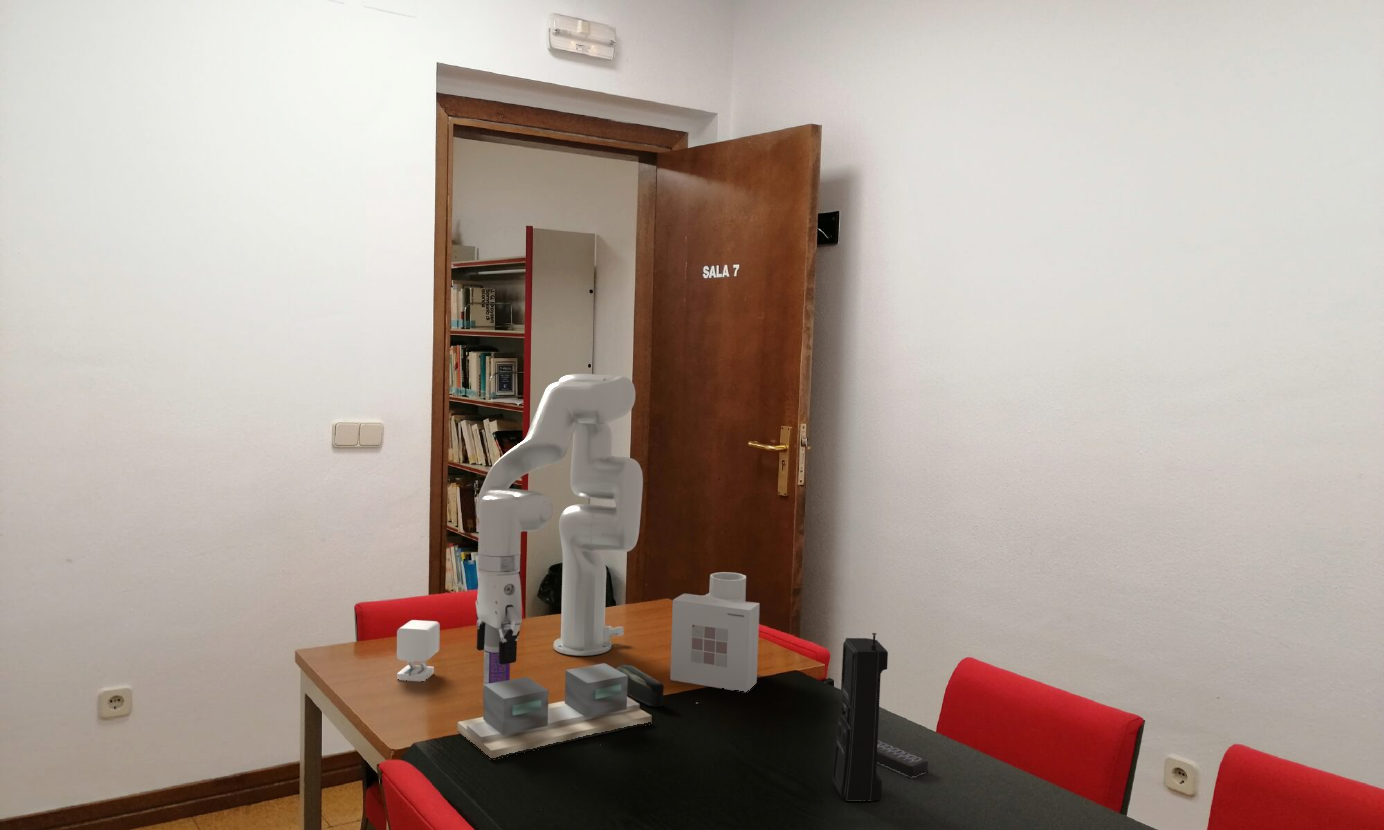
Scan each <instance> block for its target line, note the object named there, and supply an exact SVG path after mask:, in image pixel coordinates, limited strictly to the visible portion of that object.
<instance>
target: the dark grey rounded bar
mask: <svg viewBox="0 0 1384 830" xmlns="http://www.w3.org/2000/svg"><path fill="white" fill-rule="evenodd" d="M615 669H616V670H618V671H620V672H622V673H624V674H626V675H627V676H628V682H627V696H629V697H632V698H633V699H635V700H636V701H638V702H639V703H641V702H642V704H643V703H644V704H643V705H645V704H646V705H648V706H647V707H649V706H653V707H652V708H659V707H658V706H660V707H662V706H663V705H664V689H665V686H664V683H663V682H661V681H659V680H657V679H656V678H653V677H652V676H650V675H648V674H647V673H644V672H643V671H641V670H640V669H638V668H637V667H635V666H633V665H627V664H621V665H618V666H616V668H615ZM646 705H645V706H646Z"/></svg>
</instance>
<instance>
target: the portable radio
mask: <svg viewBox="0 0 1384 830" xmlns="http://www.w3.org/2000/svg"><path fill="white" fill-rule="evenodd" d="M871 634H872V635H873V636H872V638H866V637H865V638H864V637H846V638H845V641H844V642H843V643H842V663H841V685H840V693H841V695H842V696H841V697H842V698H841V708H840V709H841V711H840V713H841V714H838V716H837V729H836V740H835V741H836V742H835V752H834V762H833V770H832V782H833V784H834V786H835V788H836V790H837V792H838V793H839V795H840V797H841V798H842V799H843V798H844V799H845V800H862V801H863V800H865V801H868V800H877V801H880V800H879V799H881V800H882V786H883V783H882V782H883V781H882V778H881V777H880V776H879V774H878V772H877V768H878V767H877V765H878V764H877V744H878V740H879V721H880V720H879V719H880V718H879V717H880V716H879V715H880V700H881V699H880V696H881V695H880V694H881V677H882V675H881V674H882V673H883V671H885V670H888V661H889V660H888V659H889V652H888V650H887V649H886V648H885V647H884V645H882V644H881V643H880V642H879V641H878V640H877V639H876V635H877V632H872V633H871ZM844 799H843V800H844Z"/></svg>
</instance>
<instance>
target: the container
mask: <svg viewBox="0 0 1384 830" xmlns="http://www.w3.org/2000/svg"><path fill="white" fill-rule="evenodd" d="M506 624H509V623H506ZM502 625H503V624H502ZM508 630H509V629H507V630H505V634H506V633H507V631H508ZM499 642H501V637H500V633H499V630H498V629H495V628H494V627H492V626H490V625H488V624H487V623H485V644H484V650H483V689H482V690H483V693H482V694H483V697H482V702H483V705H484V684H489V683H495V682H501V681H506V680H511V679H510V678H511V677H510V675H511V674H510V673H511V663H509V664H502V665H501V664H499Z"/></svg>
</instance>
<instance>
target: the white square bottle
mask: <svg viewBox="0 0 1384 830" xmlns="http://www.w3.org/2000/svg"><path fill="white" fill-rule="evenodd" d="M746 589H747V575H745V574H742V573H739V572H738V573H737V572H725V571H722V572H714V573H711V574H710V575H709V592H708V593H706V594H705V595H702V594H701V595H699V594H691V593H682V594H680V595H679V596H677V597H675V598H674V599H672V612H671V614H672V615H671V646H670V647H671V648H670V673H669V674H670V681H674V682H680V683H686V684H693V685H699V686H706V687H710V688H711V687H712V688H716V689H722V688H724V690H729V691H734V690H739V691H738V692H740V691H744V692H743V693H746V692H747V691H748V690H749V691H751V690H752V689H753V688H754V687H755V686H756V685H757V684H756V683H757V680H758V656H759V655H758V654H759V633H760V632H759V630H760V629H759V628H760V627H759V626H760V602H753V601H746V592H747V591H746ZM755 684H756V685H755ZM754 685H755V686H754ZM753 686H754V687H753ZM752 687H753V688H752ZM751 688H752V689H751ZM750 689H751V690H750ZM749 691H748V692H749ZM748 692H747V693H748Z"/></svg>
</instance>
